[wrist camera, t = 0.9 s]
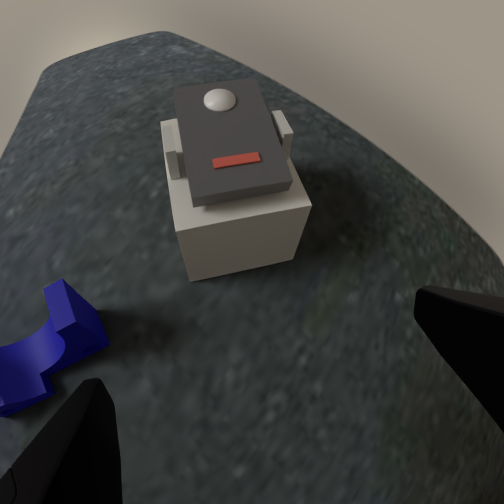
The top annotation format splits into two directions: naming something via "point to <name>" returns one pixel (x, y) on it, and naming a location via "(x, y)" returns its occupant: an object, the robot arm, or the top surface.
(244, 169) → the rocker
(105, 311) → the top surface
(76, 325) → the blue notched block
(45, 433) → the robot arm
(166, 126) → the switch box
